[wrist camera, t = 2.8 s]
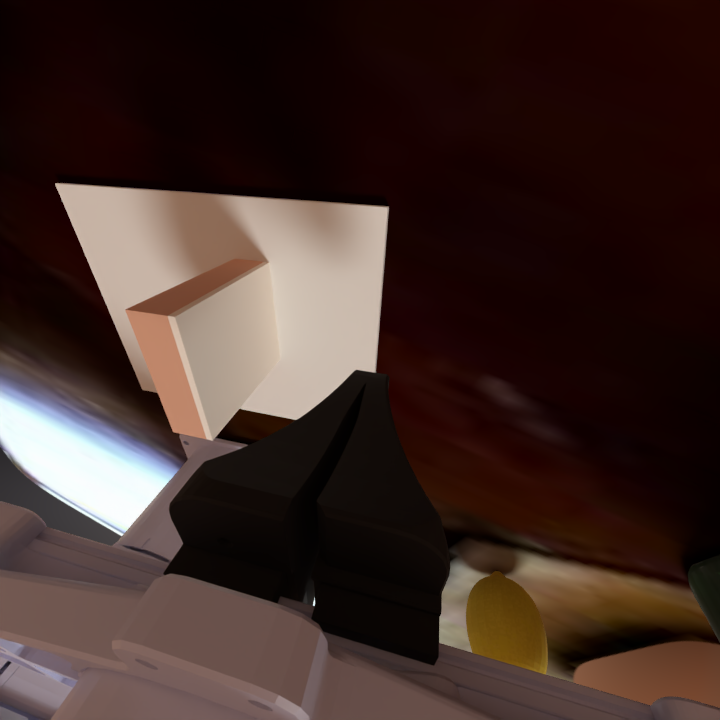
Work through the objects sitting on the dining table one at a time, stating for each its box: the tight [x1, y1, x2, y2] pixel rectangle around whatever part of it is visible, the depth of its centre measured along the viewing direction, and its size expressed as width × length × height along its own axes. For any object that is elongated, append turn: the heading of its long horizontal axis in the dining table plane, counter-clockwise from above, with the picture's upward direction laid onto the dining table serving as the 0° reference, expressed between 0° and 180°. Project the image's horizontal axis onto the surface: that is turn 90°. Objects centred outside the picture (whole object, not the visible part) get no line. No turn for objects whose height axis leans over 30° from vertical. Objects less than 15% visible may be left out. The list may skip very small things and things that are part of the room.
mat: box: [55, 183, 389, 420], centre depth 19 cm, size 14×18×1 cm
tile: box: [125, 259, 281, 441], centre depth 15 cm, size 6×2×7 cm, turn 178°
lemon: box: [466, 571, 548, 674], centre depth 24 cm, size 6×6×8 cm
